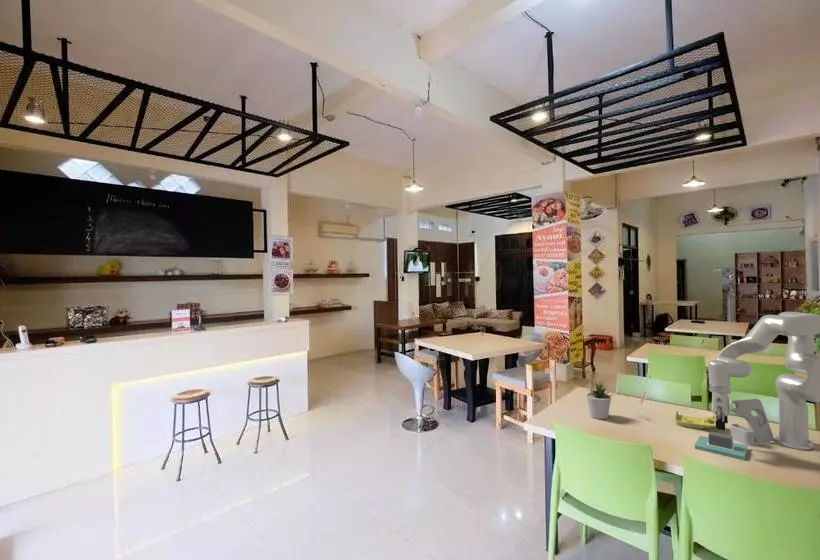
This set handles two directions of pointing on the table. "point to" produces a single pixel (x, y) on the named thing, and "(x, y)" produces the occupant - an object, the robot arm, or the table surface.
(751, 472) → the table surface
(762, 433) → the phone holder
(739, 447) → the board
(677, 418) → the plastic component
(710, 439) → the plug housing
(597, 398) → the potted plant
